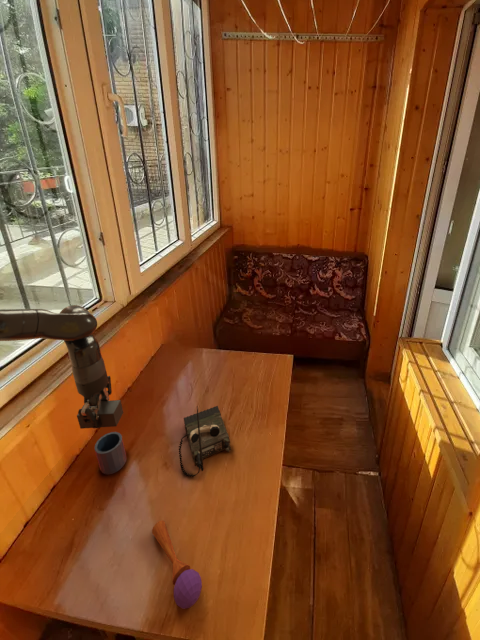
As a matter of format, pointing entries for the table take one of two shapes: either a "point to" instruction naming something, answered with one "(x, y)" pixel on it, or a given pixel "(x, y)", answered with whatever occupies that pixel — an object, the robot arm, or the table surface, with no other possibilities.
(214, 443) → the radio
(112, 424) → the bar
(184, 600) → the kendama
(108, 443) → the cup
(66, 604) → the table surface
